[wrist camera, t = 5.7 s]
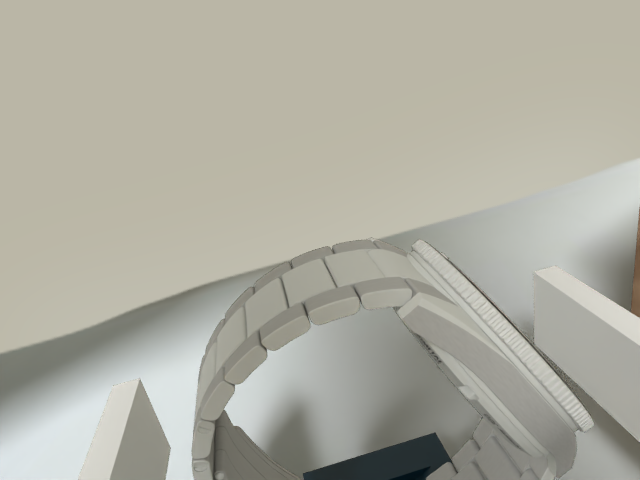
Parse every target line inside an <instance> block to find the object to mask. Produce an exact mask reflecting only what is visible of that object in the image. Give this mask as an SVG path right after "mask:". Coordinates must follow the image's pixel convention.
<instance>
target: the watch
mask: <svg viewBox="0 0 640 480" xmlns="http://www.w3.org/2000/svg"><path fill="white" fill-rule="evenodd" d="M411 247H412V249H413V251H412V252H411V253H410V254H409V253H408V252H406V251H403V250H401V249H399V248H397V247H395V246H392V245H390V244H388V243H385V242H383V241H380V240H377V239H374V238H369V239H366V240H356V241H349V242H344V243H339V244H336V245H334V246H333V247H332V250H333V252H332V250H331V248H330V247H328V246H327V247H322V248H319V249H315V250H312V251H310V252H307V253H304V254H302V255H300V256H297V257H295V258H293V259H292V260H291V264H292V266H291V264H290V263H289V262H285V263H283V264H281V265H279V266H278V267H276V268H274V269H273V270H271V271H270V272H268V273H267V274H265V275H264V276H263V277H261V278H260V279H259V280H258V281H256V283H255V284H254V287H255V288H254V287H250V288H248V289H247V290H246V291H245V292H244V293H243V294H242V295H241V296H240V297H239V298H238V299H237V300H236V301H235V302H234V303H233V304H232V306H231V307H230V308H229V310H228V311H227V312H226V314H225V319H222V320H221V321H220V323H219V324H218V326H217V327H216V329H215V330H214V332H213V334H212V336H211V338H210V340H209V342H208V345H207V347H206V351H205V355H204V356H203V358H202V362H201V366H200V371H199V378H198V389H197V398H196V409H195V419H194V430H193V443H192V471H193V477H194V480H303V479H301V478H300V477H298V476H296V475H295V474H293V473H291V472H290V471H288V470H287V469H285V468H283V467H282V466H281V465H279V464H278V463H276V462H275V461H274V460H272V459H271V458H270V457H269V456H268V455H267V454H265V453H264V452H263V451H262V450H261V449H260V448H259V447H258V446H257V445H256V444H255V443H254V442H253V441H252V440H251V439H250V438H249V437H248V435H247V434H246V433H245V432H244V431H243V430H242V429H241V428H240V427H239V426H233V424H232V423H231V421H230V419H229V417H228V415H227V413H226V411H225V410H223V409H224V408H225V406H226V404H227V403H228V401H229V400H230V398H231V397H232V395H233V394H234V391H235V384H241V383H242V382H244V380H245V379H246V378H247V377H248V376H249V375H250V374H251V373H252V372H253V371H254V370H255V369H256V368H257V367H258V366H259V365H260V364H262V363H263V362H264V361H265V360H266V358H267V349H269V350H272V351H275V350H278V349H280V348H281V347H283V346H284V345H286V344H287V343H289V342H290V341H292V340H293V339H295V338H297V337H299V336H301V335H302V334H304V333H306V332H307V331H308V330H309V329H310V321H309V318H310V320H311V322H313V323H314V324H316V325H322V324H325V323H328V322H330V321H333V320H336V319H339V318H342V317H346V316H350V315H353V314H355V313H357V312H358V311H359V309H360V302H361V304H362V305H363V307H364V308H365V309H367V310H373V309H379V308H386V307H393V309H394V310H395V312H396V313H397V314H398V316H399V317H400V319H401V320H402V321H403V323H404V324H405V325H406V327H407V328H408V329H409V331H410V332H411V333H412V335H413V336H414V337H415V338H416V340H417V341H418V342H419V343H420V345H421V346H422V347H423V348H424V350H425V351H426V352H427V353H428V355H429V356H430V357H431V358H432V360H433V361H434V362H435V363H436V364H437V366H438V367H439V368H440V369H441V370H442V371H443V373H444V374H445V375H446V376H447V377H448V379H449V380H450V381H451V382H452V383H453V384H454V385H455V387H456V388H457V389H458V390H459V391H460V392H461V393H462V395H463V396H464V397H465V398H466V399H467V400H468V401H469V402H470V404H471V405H472V406H473V407H474V408H475V409H476V410H477V411H478V412H479V413H480V414H481V416H482V419H481V421H480V423H479V425H478V427H477V428H476V430H475V431H474V433H473V438H474V440H468V441H467V442H466V443H465V444H464V445H463V447H462V448H461V449H460V450H459V451H458V452H457V453H456V454H455V455H454V456H453V458H452V461H451V459H450V458H449V456H448V454H447V452H446V451H445V449H444V447H443V445H442V444H441V442H440V440H439V438H438V437H437V435H436V433H432V434H429V435H425V436H422V437H419V438H416V439H413V440H409V441H406V442H403V443H400V444H397V445H393V446H390V447H387V448H384V449H381V450H377V451H374V452H371V453H368V454H364V455H361V456H358V457H355V458H352V459H348V460H345V461H342V462H339V463H336V464H332V465H329V466H326V467H323V468H320V469H316V470H313V471H310V472H307V473H303V477H304V480H553V479H554V478H555V477H557V478H560V477H561V476H562V475H564V474H565V473H566V472H567V471H569V470H570V469H571V468H572V466H573V463H574V459H575V455H576V451H577V442H576V435H575V434H574V432H575V431H577V430H578V429H579V430H580V431H582V432H584V433H585V432H586V431H588V430H589V429H590V428H591V427H593V426H594V422H593V420H592V418H591V415H590V414H589V412H588V411H587V409H586V408H585V407H584V405H583V404H582V403H581V401H580V400H579V399H578V397H577V396H576V394H575V393H574V392H573V390H572V389H571V388H570V387H569V385H568V384H567V383H566V382H565V380H564V379H563V378H562V377H561V375H560V374H559V373H558V372H557V371H556V369H555V368H554V367H553V366H552V365H551V363H550V362H549V361H548V360H547V359H546V358H545V357H544V355H543V354H542V353H541V352H540V351H539V350H538V349H537V348H536V347H535V345H534V344H533V343H532V342H531V341H530V340H529V339H528V338H527V337H526V336H525V335H524V333H523V332H522V331H521V330H520V329H519V328H518V327H517V326H516V325H515V324H514V323H513V322H512V321H511V320H510V319H509V318H508V317H507V315H506V314H505V313H504V312H503V311H502V310H501V309H500V308H499V307H498V306H497V305H496V304H495V303H494V302H493V301H492V300H491V299H490V298H489V297H488V296H487V295H486V294H485V293H484V292H483V291H482V290H481V289H480V288H479V287H478V286H477V285H476V284H475V283H474V282H473V281H472V280H471V279H470V278H468V277H467V276H466V275H465V274H464V273H463V272H462V271H461V270H460V269H459V268H458V267H457V266H455V265H454V264H453V263H452V262H451V261H450V260H448V259H449V258H448V257H447V256H446V255H445V254H443V253H440V252H438V251H437V250H436V249H435V248H433V247H432V246H431V245H430V244H428V243H427V242H425V241H423V240H421V239H419V240H417V241H416V242H415V243H414V244H413V245H412V246H411ZM292 267H293V268H292ZM328 271H329V272H328ZM329 273H330V274H329ZM330 275H331V276H330ZM331 277H332V278H331ZM332 279H333V280H332ZM308 316H309V318H308ZM266 348H267V349H266ZM452 462H453V463H452ZM453 464H454V465H453ZM456 469H457V470H456ZM457 471H458V472H457Z"/></svg>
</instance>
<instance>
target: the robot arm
mask: <svg viewBox="0 0 640 480" xmlns="http://www.w3.org/2000/svg"><path fill="white" fill-rule="evenodd" d="M533 294H534V344H535V345H536V346H537V347H538V348H539V349H540V350H541V351H542V352H543V353H544V354H545V355H547V356H548V357H549V358H550V359H551V360H552V361H553V362H554V363H555V364H556V365H557V366H558V367H559V368H560V369H562V370H563V371H564V372H565V373H566V374H567V375H568V376H569V377H570V378H571V379H572V380H573V381H574V382H575V383H577V384H578V385H579V386H580V387H581V388H582V389H583V390H584V391H585V392H586V393H587V394H588V395H589V396H590V397H592V398H593V399H594V400H595V401H596V402H597V403H598V404H599V405H600V406H601V407H602V408H603V409H604V410H605V411H607V412H608V413H609V414H610V415H611V416H612V417H613V418H614V419H615V420H616V421H617V422H618V423H619V424H620V425H622V426H623V427H624V428H625V429H626V430H627V431H628V432H629V433H630V434H631V435H632V436H633V437H634V438H635V439H637V440H638V441H639V442H640V318H639V317H637V316H636V315H634V314H632V313H631V312H629V311H628V310H626V309H624V308H623V307H621V306H620V305H618V304H616V303H615V302H613V301H612V300H610V299H608V298H607V297H605V296H604V295H602V294H600V293H599V292H597V291H596V290H594V289H593V288H591V287H589V286H588V285H586V284H585V283H583V282H581V281H580V280H578V279H577V278H575V277H573V276H572V275H570V274H569V273H567V272H565V271H564V270H562V269H561V268H559V267H557V266H552V267H549V268H545V269H541V270H538V271H534V272H533ZM170 449H171V448H170V445H169V443H168V441H167V438H166V436H165V434H164V432H163V429H162V427H161V425H160V423H159V420H158V418H157V416H156V414H155V411H154V409H153V407H152V405H151V402H150V400H149V398H148V395H147V393H146V391H145V389H144V386H143V384H142V382H141V380H140V378H139V379H135V380H132V381H128V382H124V383H121V384H117V385H113V387H112V390H111V392H110V395H109V398H108V400H107V403H106V406H105V408H104V411H103V414H102V416H101V419H100V422H99V424H98V427H97V429H96V432H95V435H94V437H93V440H92V443H91V445H90V448H89V451H88V453H87V456H86V459H85V461H84V464H83V467H82V469H81V472H80V475H79V477H78V480H165V479H166V473H167V467H168V461H169V455H170Z"/></svg>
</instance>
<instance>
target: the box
mask: <svg viewBox="0 0 640 480" xmlns="http://www.w3.org/2000/svg"><path fill="white" fill-rule="evenodd" d="M631 313H632V314H634V315H636V316H637V317H639V318H640V209H639V221H638V233H637V245H636V256H635V268H634V280H633V292H632V303H631Z"/></svg>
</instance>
